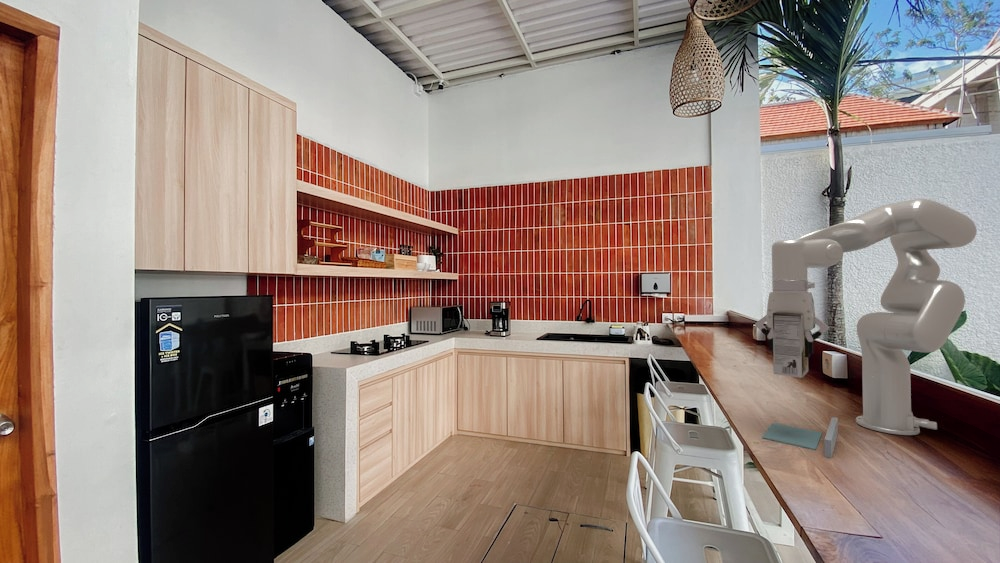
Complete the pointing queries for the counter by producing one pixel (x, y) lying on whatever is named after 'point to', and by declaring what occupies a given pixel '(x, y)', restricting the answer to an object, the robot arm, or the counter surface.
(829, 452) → the low wall
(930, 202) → the robot arm
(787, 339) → the coffee box
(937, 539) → the counter surface
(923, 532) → the counter surface
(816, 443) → the mat
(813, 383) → the counter surface
